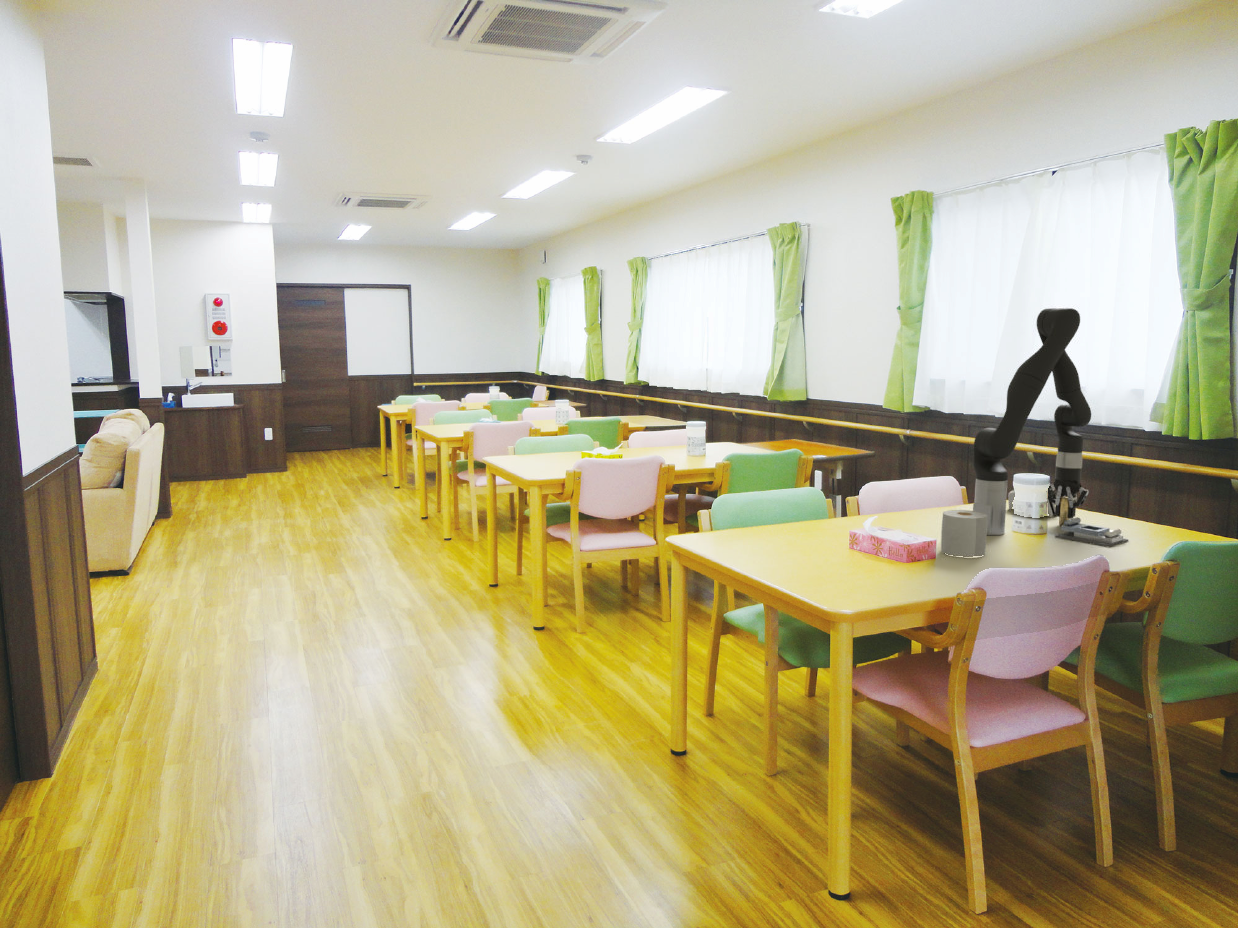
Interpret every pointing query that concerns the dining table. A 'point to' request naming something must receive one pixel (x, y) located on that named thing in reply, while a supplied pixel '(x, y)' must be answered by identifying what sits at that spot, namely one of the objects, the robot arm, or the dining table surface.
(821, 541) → the dining table surface
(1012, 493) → the hinge
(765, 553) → the dining table surface
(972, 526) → the toilet paper roll
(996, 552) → the dining table surface
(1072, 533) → the rubber mat
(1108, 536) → the grey clamping fixture
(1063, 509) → the brass pin
